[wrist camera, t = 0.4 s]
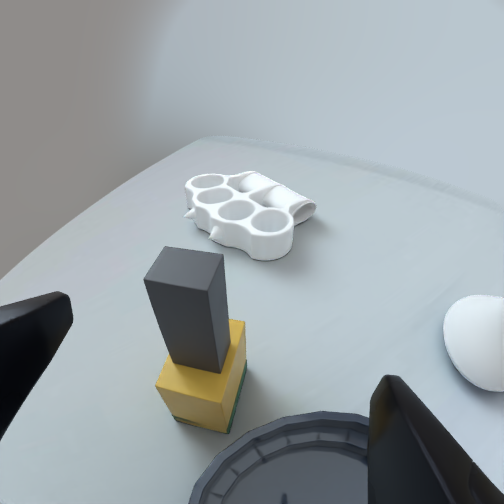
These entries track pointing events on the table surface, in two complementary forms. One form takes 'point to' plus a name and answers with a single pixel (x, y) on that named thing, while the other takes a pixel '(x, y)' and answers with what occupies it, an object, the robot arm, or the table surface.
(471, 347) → the flower in vase
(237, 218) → the knuckle duster
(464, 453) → the robot arm
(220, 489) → the bowl
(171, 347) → the stacked two-tone block
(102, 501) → the table surface
